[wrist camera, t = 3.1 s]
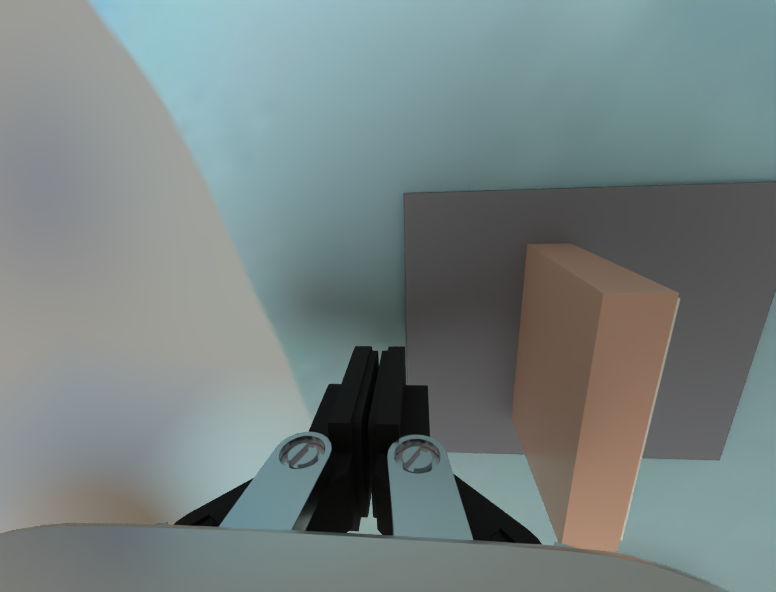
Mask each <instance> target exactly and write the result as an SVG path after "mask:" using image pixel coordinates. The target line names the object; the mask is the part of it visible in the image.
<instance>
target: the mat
mask: <svg viewBox="0 0 776 592" xmlns="http://www.w3.org/2000/svg"><path fill="white" fill-rule="evenodd" d="M404 231H405V283H406V336H407V385H428V400H429V422H430V437H431V438H433V439H435V440H437V441H438V442H439V443H440V444H441V445H442V446H443V447H444V449H445V451H446V452H460V453H493V454H525V453H524V450H523V448H522V445H521V442H520V440H519V437H518V435H517V432H516V429H515V427H514V424H513V421H512V419H511V418H512V407H513V396H514V385H515V374H516V363H517V352H518V341H519V330H520V319H521V308H522V297H523V286H524V275H525V264H526V253H527V244H558V243H571V244H573V245H576V246H578V247H580V248H582V249H584V250H586V251H589V252H591V253H593V254H595V255H597V256H600V257H602V258H604V259H606V260H608V261H610V262H613V263H615V264H617V265H619V266H621V267H624V268H626V269H628V270H630V271H632V272H634V273H637V274H639V275H641V276H643V277H645V278H648V279H650V280H652V281H654V282H656V283H658V284H661V285H663V286H665V287H667V288H669V289H672V290H674V291H676V292H678V293H679V295H678V298H680V302H679V306H678V311H677V315H676V319H675V323H674V327H673V331H672V335H671V340H670V344H669V348H668V352H667V356H666V360H665V365H664V369H663V373H662V377H661V381H660V385H659V389H658V394H657V398H656V402H655V406H654V410H653V414H652V418H651V423H650V427H649V431H648V435H647V439H646V443H645V448H644V452H643V456H642V458H657V459H690V460H720V458H721V455H722V452H723V449H724V446H725V443H726V440H727V437H728V434H729V430H730V427H731V424H732V421H733V418H734V415H735V412H736V409H737V406H738V403H739V400H740V397H741V394H742V391H743V388H744V385H745V382H746V379H747V376H748V373H749V370H750V367H751V364H752V360H753V357H754V354H755V351H756V348H757V345H758V342H759V339H760V336H761V333H762V330H763V327H764V324H765V321H766V318H767V315H768V312H769V309H770V306H771V303H772V300H773V297H774V293H775V290H776V182H747V183H715V184H683V185H651V186H619V187H587V188H555V189H523V190H491V191H460V192H428V193H404Z"/></svg>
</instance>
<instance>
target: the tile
mask: <svg viewBox="0 0 776 592" xmlns="http://www.w3.org/2000/svg"><path fill="white" fill-rule="evenodd" d="M678 295H679V293H678V292H676V291H674V290H672V289H669V288H667V287H665V286H663V285H661V284H658V283H656V282H654V281H652V280H650V279H648V278H645V277H643V276H641V275H639V274H637V273H634V272H632V271H630V270H628V269H626V268H624V267H621V266H619V265H617V264H615V263H613V262H610V261H608V260H606V259H604V258H602V257H600V256H597V255H595V254H593V253H591V252H589V251H586V250H584V249H582V248H580V247H578V246H576V245H573V244H571V243H558V244H527V253H526V264H525V275H524V286H523V297H522V308H521V319H520V330H519V341H518V352H517V363H516V374H515V385H514V396H513V407H512V418H511V419H512V421H513V424H514V427H515V429H516V432H517V435H518V437H519V440H520V442H521V445H522V448H523V450H524V453H525V456H526V458H527V461H528V464H529V466H530V469H531V471H532V474H533V477H534V479H535V482H536V485H537V487H538V490H539V492H540V495H541V498H542V500H543V503H544V506H545V508H546V511H547V513H548V516H549V519H550V521H551V524H552V527H553V529H554V532H555V535H556V537H557V540H558V542H559V543H562V544H566V545H570V546H574V547H577V548H582V549H592V550H602V551H615V552H617V551H618V547H619V543H620V540H622V539H623V535H624V531H625V526H626V522H627V518H628V514H629V510H630V506H631V502H632V497H633V493H634V489H635V485H636V481H637V477H638V472H639V468H640V464H641V460H642V456H643V452H644V448H645V443H646V439H647V435H648V431H649V427H650V423H651V418H652V414H653V410H654V406H655V402H656V398H657V394H658V389H659V385H660V381H661V377H662V373H663V369H664V365H665V360H666V356H667V352H668V348H669V344H670V340H671V335H672V331H673V327H674V323H675V319H676V315H677V311H678V306H679V302H680V298H678Z"/></svg>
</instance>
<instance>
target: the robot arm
mask: <svg viewBox="0 0 776 592" xmlns="http://www.w3.org/2000/svg"><path fill="white" fill-rule="evenodd" d="M371 493H372V506H373V517H374V518H377V529H378V530H379V531H380V533H381V534H382V535H373V534H354V533H347V532H348V531H359V526H360V520H361V517H368V513H369V507H370V500H371ZM0 592H729V591H727V590H725V589H723V588H721V587H719V586H717V585H715V584H713V583H711V582H708V581H706V580H704V579H701V578H699V577H696V576H693V575H691V574H688V573H686V572H683V571H680V570H678V569H675V568H672V567H670V566H667V565H663V564H660V563H656V562H652V561H648V560H645V559H641V558H638V557H634V556H629V555H624V554H618V553H613V552H607V551H602V550H592V549H582V548H577V547H574V546H570V545H566V544H562V543H558V542H555V543H554V546H552V545H543V544H541V542H540V541H539V539H538V538H537V537H536V536H534V535H533V534H532V533H531V532H530V531H529V530H528V529H527V528H525V527H524V526H523V525H521V524H520V523H519V522H517V521H516V520H515V519H513V518H512V517H511V516H509V515H508V514H507V513H505V512H504V511H503V510H501V509H500V508H499V507H497V506H496V505H494V504H493V503H492V502H490V501H489V500H488V499H486V498H485V497H484V496H482V495H481V494H480V493H478V492H477V491H476V490H474V489H473V488H472V487H470V486H469V485H468V484H466V483H465V482H464V481H462V480H461V479H460V478H458V477H457V476H456V475H454V474H453V472H452V469H451V465H450V462H449V459H448V456H447V452H446V451H445V449H444V447H443V446H442V445H441V444H440V443H439V442H438V441H437V440H435V439H433V438H431V437H430V422H429V400H428V385H406V369H405V347H389V348H388V351H382V355H381V360H380V365H379V359H378V351H372V346H355V348H354V351H353V354H352V356H351V359H350V362H349V365H348V367H347V370H346V373H345V375H344V378H343V381H342V384H329V385H328V387H327V389H326V392H325V394H324V396H323V399H322V401H321V404H320V406H319V408H318V411H317V413H316V415H315V418H314V420H313V422H312V425H311V427H310V429H309V432H303V433H297V434H295V435H292V436H290V437H288V438H286V439H285V440H283V441H282V442H281V443H280V444H279V445H278V446H277V447H276V448H275V450H274V451H273V453H272V454H271V456H270V457H269V458H268V459H267V461H266V462H265V464H264V465H263V466H262V468H261V469H260V471H259V472H258V473H257V475H256V476H255V477H254V478H253V479H251V480H249V481H247V482H246V483H244V484H242V485H240V486H238V487H236V488H234V489H233V490H231V491H229V492H227V493H225V494H223V495H222V496H220V497H218V498H216V499H214V500H212V501H211V502H209V503H207V504H205V505H203V506H202V507H200V508H198V509H196V510H194V511H192V512H191V513H189V514H187V515H186V516H184V517H183V518H181V519H180V520H178V521H177V522H176V523H175V524H174V525H168V522H165V523H158V524H137V523H63V524H50V525H40V526H34V527H29V528H23V529H17V530H12V531H8V532H4V533H1V534H0Z"/></svg>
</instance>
